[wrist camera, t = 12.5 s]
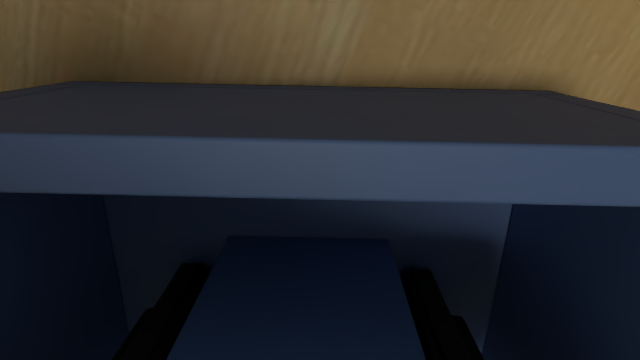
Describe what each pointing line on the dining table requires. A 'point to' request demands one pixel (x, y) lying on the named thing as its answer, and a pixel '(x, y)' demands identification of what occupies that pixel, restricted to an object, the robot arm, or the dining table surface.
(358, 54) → the dining table surface
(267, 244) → the blue block
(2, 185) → the blue bin
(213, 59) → the dining table surface
